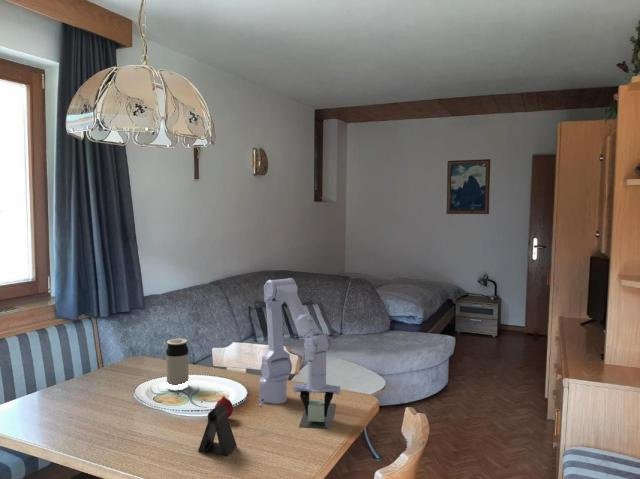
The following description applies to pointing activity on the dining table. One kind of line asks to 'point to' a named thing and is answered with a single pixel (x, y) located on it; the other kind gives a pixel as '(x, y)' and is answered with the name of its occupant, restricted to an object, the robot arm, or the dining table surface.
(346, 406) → the dining table surface
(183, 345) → the travel mug
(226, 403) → the onion
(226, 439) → the phone stand
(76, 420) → the dining table surface
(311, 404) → the sage green cube
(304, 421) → the base plate
